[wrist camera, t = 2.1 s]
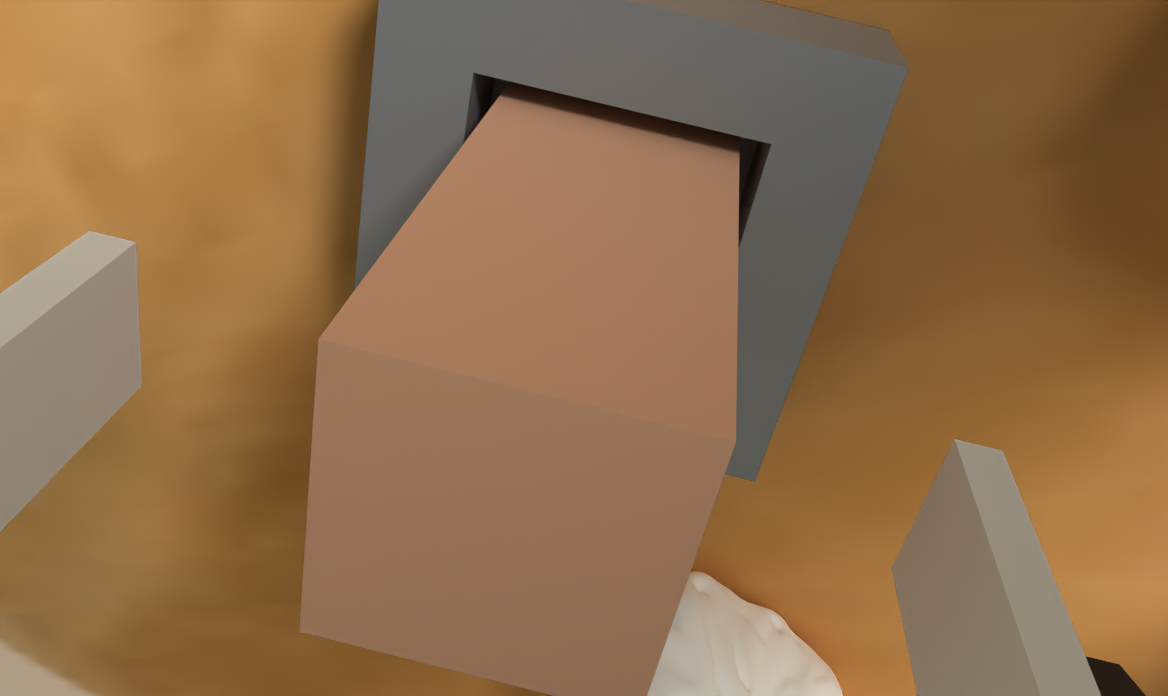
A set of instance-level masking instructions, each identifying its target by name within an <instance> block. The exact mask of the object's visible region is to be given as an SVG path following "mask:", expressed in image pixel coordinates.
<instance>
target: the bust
mask: <svg viewBox="0 0 1168 696" xmlns="http://www.w3.org/2000/svg"><path fill="white" fill-rule="evenodd" d="M647 696H843V694H842V690H841V688H840V685H839V683H838V681H837V679H836V677H835V675H834V673H833V672H832V670H831V668H830V667H829V666H828V665H827V664H826V663H825V662H824V661H823V660H822V659H821V658H820V657H819V656H818V655H817V653H816V652H815V651H814V650H813V649H812V648H811V647H810V646H808V645H807V644H806V643H805V642H804V641H803V640H801V639H800V638H799V637H798V636H797V635H796V634H794V633H793V632H792V631H791V630H790V628H789V627H788V625H787V624H786V622H785V620H784V619H783V618H782V617H781V616H780V615H779V614H777V613H776V612H775V611H773V610H771V609H768V608H765V607H762V606H759V605H756V604H753V603H749V602H747V601H745V600H743V599H741V598H739V597H738V596H737V595H736V594H734V593H733V592H732V591H731V590H730V589H728V588H727V587H725V586H724V585H722V584H720V583H719V582H718V581H716V580H715V579H714V578H712V577H711V576H709V575H708V574H706V573H703V572H699V571H691V572H690V575H689V578H688V580H687V583H686V586H685V589H684V592H683V595H682V598H681V600H680V603H679V606H678V609H677V612H676V615H675V618H674V620H673V623H672V626H671V629H670V632H669V635H668V638H667V640H666V643H665V646H664V649H663V652H662V655H661V658H660V660H659V663H658V666H657V669H656V672H655V675H654V678H653V680H652V683H651V686H650V689H649V692H648V695H647Z"/></svg>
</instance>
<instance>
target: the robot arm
mask: <svg viewBox="0 0 1168 696" xmlns="http://www.w3.org/2000/svg"><path fill="white" fill-rule="evenodd" d="M141 387H142V372H141V347H140V322H139V297H138V273H137V248H136V242H134V241H130V240H125V239H121V238H117V237H113V236H109V235H105V234H101V233H96V232H92V231H88V232H86V233H85V234H84V235H82V236H81V237H79V238H78V239H77V240H75V241H74V242H72V243H71V244H69V245H68V246H67V247H65V248H64V249H62V250H61V251H59V252H58V253H57V254H55V255H54V256H52V257H51V258H49V259H48V260H47V261H45V262H44V263H42V264H41V265H40V266H38V267H37V268H35V269H34V270H32V271H31V272H30V273H28V274H27V275H25V276H24V277H22V278H21V279H20V280H18V281H17V282H15V283H14V284H12V285H11V286H10V287H8V288H7V289H5V290H4V291H3V292H1V293H0V532H1V531H2V530H3V529H4V528H5V526H6V525H7V524H8V523H9V522H10V521H11V520H12V519H13V518H14V517H15V516H16V515H17V514H18V513H19V512H20V511H21V510H22V509H23V508H24V507H25V506H26V505H27V504H28V503H29V502H30V501H31V500H32V499H33V498H34V497H35V496H36V495H37V494H38V493H39V491H40V490H41V489H42V488H43V487H44V486H45V485H46V484H47V483H48V482H49V481H50V480H51V479H52V478H53V477H54V476H55V475H56V474H57V473H58V472H59V471H60V470H61V469H62V468H63V467H64V466H65V465H66V464H67V463H68V462H69V461H70V460H71V459H72V458H73V457H74V455H75V454H76V453H77V452H78V451H79V450H80V449H81V448H82V447H83V446H84V445H85V444H86V443H87V442H88V441H89V440H90V439H91V438H92V437H93V436H94V435H95V434H96V433H97V432H98V431H99V430H100V429H101V428H102V427H103V426H104V425H105V424H106V423H107V422H108V421H109V419H110V418H111V417H112V416H113V415H114V414H115V413H116V412H117V411H118V410H119V409H120V408H121V407H122V406H123V405H124V404H125V403H126V402H127V401H128V400H129V399H130V398H131V397H132V396H133V395H134V394H135V393H136V392H137V391H138V390H139V389H140V388H141ZM892 573H893V577H894V582H895V587H896V592H897V597H898V602H899V607H900V612H901V617H902V622H903V627H904V632H905V637H906V642H907V647H908V652H909V657H910V662H911V667H912V672H913V677H914V682H915V687H916V692H917V696H1145V694H1144V693H1143V692H1142V691H1141V690H1140V688H1139V687H1138V686H1137V685H1136V684H1135V682H1134V681H1133V680H1132V679H1131V678H1130V677H1129V675H1128V674H1127V673H1126V672H1125V671H1124V669H1123V668H1122V667H1121V666H1120V665H1119V664H1115V663H1111V662H1106V661H1102V660H1098V659H1094V658H1090V657H1086V656H1085V654H1084V652H1083V649H1082V647H1081V644H1080V642H1079V639H1078V637H1077V634H1076V632H1075V629H1074V627H1073V624H1072V622H1071V619H1070V617H1069V614H1068V612H1067V609H1066V607H1065V604H1064V602H1063V599H1062V597H1061V594H1060V592H1059V589H1058V587H1057V584H1056V582H1055V579H1054V577H1053V574H1052V572H1051V569H1050V567H1049V565H1048V562H1047V560H1046V557H1045V555H1044V552H1043V550H1042V547H1041V545H1040V542H1039V540H1038V537H1037V535H1036V532H1035V530H1034V527H1033V525H1032V522H1031V520H1030V517H1029V515H1028V512H1027V510H1026V507H1025V505H1024V502H1023V500H1022V497H1021V495H1020V492H1019V490H1018V487H1017V485H1016V482H1015V480H1014V477H1013V475H1012V472H1011V470H1010V467H1009V465H1008V463H1007V460H1006V458H1005V455H1004V453H1003V451H1002V450H998V449H994V448H990V447H985V446H981V445H977V444H973V443H969V442H965V441H961V440H956V439H954V441H953V443H952V445H951V447H950V449H949V451H948V453H947V455H946V457H945V459H944V462H943V464H942V466H941V468H940V470H939V472H938V474H937V476H936V478H935V480H934V482H933V484H932V486H931V488H930V490H929V492H928V494H927V496H926V498H925V500H924V502H923V504H922V506H921V508H920V511H919V513H918V515H917V517H916V519H915V521H914V523H913V525H912V527H911V529H910V531H909V533H908V535H907V537H906V539H905V541H904V543H903V545H902V547H901V549H900V551H899V553H898V555H897V557H896V559H895V562H894V564H893V566H892Z"/></svg>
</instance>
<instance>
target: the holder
mask: <svg viewBox="0 0 1168 696" xmlns="http://www.w3.org/2000/svg"><path fill="white" fill-rule="evenodd" d="M908 69H909V67H908V65H907V63H906V61H905V59H904V58H903V56H902V54H901V52H900V50H899V48H898V47H897V45H896V43H895V41H894V39H893V38H892V36H891V34H890V32H889V31H888V30H884V29H880V28H876V27H871V26H867V25H863V24H859V23H855V22H850V21H846V20H842V19H838V18H833V17H829V16H825V15H821V14H817V13H812V12H808V11H804V10H800V9H796V8H791V7H787V6H783V5H779V4H775V3H770V2H766V1H762V0H379V2H378V14H377V26H376V37H375V49H374V61H373V73H372V84H371V96H370V108H369V120H368V131H367V143H366V155H365V167H364V178H363V190H362V202H361V214H360V225H359V237H358V249H357V260H356V272H355V284H354V291H355V289H356V288H357V286H358V285H359V284H360V282H361V281H362V280H363V278H364V277H365V276H366V274H367V273H368V272H369V270H370V269H371V268H372V266H373V265H374V264H375V262H376V261H377V260H378V258H379V257H380V256H381V254H382V253H383V252H384V250H385V249H386V248H387V246H388V245H389V244H390V242H391V241H392V240H393V238H394V237H395V235H396V234H397V233H398V231H399V230H400V229H401V227H402V226H403V225H404V223H405V222H406V221H407V219H408V218H409V217H410V215H411V214H412V213H413V211H414V210H415V209H416V207H417V206H418V205H419V203H420V202H421V201H422V199H423V198H424V197H425V195H426V194H427V193H428V191H429V190H430V189H431V187H432V186H433V184H434V183H435V182H436V180H437V179H438V178H439V176H440V175H441V174H442V172H443V171H444V170H445V168H446V167H447V166H448V164H449V163H450V162H451V160H452V159H453V158H454V156H455V155H456V154H457V152H458V151H459V150H460V148H461V147H462V146H463V144H464V143H465V142H466V140H467V139H468V137H469V136H470V135H471V133H472V132H473V131H474V129H475V128H476V127H477V125H478V124H479V123H480V121H481V120H482V119H483V117H484V116H485V115H486V113H487V112H488V111H489V109H490V108H491V107H492V105H493V104H494V103H495V101H496V100H497V99H498V97H499V96H500V95H501V93H502V92H503V91H504V89H505V88H506V86H507V85H508V84H509V82H515V83H519V84H523V85H527V86H531V87H535V88H540V89H544V90H548V91H552V92H556V93H560V94H564V95H569V96H573V97H577V98H581V99H585V100H589V101H594V102H598V103H602V104H606V105H610V106H614V107H619V108H623V109H627V110H631V111H635V112H639V113H644V114H648V115H652V116H656V117H660V118H664V119H669V120H673V121H677V122H681V123H685V124H689V125H694V126H698V127H702V128H706V129H710V130H714V131H719V132H723V133H727V134H731V135H735V136H739V137H740V152H739V236H738V321H737V406H736V443H735V446H734V449H733V452H732V455H731V458H730V461H729V463H728V466H727V469H726V472H725V474H727V475H731V476H735V477H739V478H743V479H747V480H751V481H755V480H756V477H757V474H758V472H759V469H760V466H761V464H762V461H763V458H764V456H765V453H766V450H767V447H768V445H769V442H770V439H771V437H772V434H773V431H774V429H775V426H776V423H777V421H778V418H779V415H780V413H781V410H782V407H783V405H784V402H785V399H786V397H787V394H788V391H789V388H790V386H791V383H792V380H793V378H794V375H795V372H796V370H797V367H798V364H799V362H800V359H801V356H802V354H803V351H804V348H805V346H806V343H807V340H808V337H809V335H810V332H811V329H812V327H813V324H814V321H815V319H816V316H817V313H818V311H819V308H820V305H821V303H822V300H823V297H824V295H825V292H826V289H827V286H828V284H829V281H830V278H831V276H832V273H833V270H834V268H835V265H836V262H837V260H838V257H839V254H840V252H841V249H842V246H843V244H844V241H845V238H846V236H847V233H848V230H849V227H850V225H851V222H852V219H853V217H854V214H855V211H856V209H857V206H858V203H859V201H860V198H861V195H862V193H863V190H864V187H865V185H866V182H867V179H868V176H869V174H870V171H871V168H872V166H873V163H874V160H875V158H876V155H877V152H878V150H879V147H880V144H881V142H882V139H883V136H884V134H885V131H886V128H887V125H888V123H889V120H890V117H891V115H892V112H893V109H894V107H895V104H896V101H897V99H898V96H899V93H900V91H901V88H902V85H903V83H904V80H905V77H906V75H907V72H908Z"/></svg>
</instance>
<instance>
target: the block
mask: <svg viewBox="0 0 1168 696" xmlns="http://www.w3.org/2000/svg"><path fill="white" fill-rule="evenodd" d="M739 152H740V137H739V136H735V135H731V134H727V133H723V132H719V131H714V130H710V129H706V128H702V127H698V126H694V125H689V124H685V123H681V122H677V121H673V120H669V119H664V118H660V117H656V116H652V115H648V114H644V113H639V112H635V111H631V110H627V109H623V108H619V107H614V106H610V105H606V104H602V103H598V102H594V101H589V100H585V99H581V98H577V97H573V96H569V95H564V94H560V93H556V92H552V91H548V90H544V89H540V88H535V87H531V86H527V85H523V84H519V83H515V82H509V84H508V85H507V86H506V88H505V89H504V91H503V92H502V93H501V95H500V96H499V97H498V99H497V100H496V101H495V103H494V104H493V105H492V107H491V108H490V109H489V111H488V112H487V113H486V115H485V116H484V117H483V119H482V120H481V121H480V123H479V124H478V125H477V127H476V128H475V129H474V131H473V132H472V133H471V135H470V136H469V137H468V139H467V140H466V142H465V143H464V144H463V146H462V147H461V148H460V150H459V151H458V152H457V154H456V155H455V156H454V158H453V159H452V160H451V162H450V163H449V164H448V166H447V167H446V168H445V170H444V171H443V172H442V174H441V175H440V176H439V178H438V179H437V180H436V182H435V183H434V184H433V186H432V187H431V189H430V190H429V191H428V193H427V194H426V195H425V197H424V198H423V199H422V201H421V202H420V203H419V205H418V206H417V207H416V209H415V210H414V211H413V213H412V214H411V215H410V217H409V218H408V219H407V221H406V222H405V223H404V225H403V226H402V227H401V229H400V230H399V231H398V233H397V234H396V235H395V237H394V238H393V240H392V241H391V242H390V244H389V245H388V246H387V248H386V249H385V250H384V252H383V253H382V254H381V256H380V257H379V258H378V260H377V261H376V262H375V264H374V265H373V266H372V268H371V269H370V270H369V272H368V273H367V274H366V276H365V277H364V278H363V280H362V281H361V282H360V284H359V285H358V286H357V288H356V289H355V291H354V292H353V293H352V295H351V296H350V297H349V299H348V300H347V301H346V303H345V304H344V305H343V307H342V308H341V309H340V311H339V312H338V313H337V315H336V316H335V317H334V319H333V320H332V321H331V323H330V324H329V325H328V327H327V328H326V329H325V331H324V332H323V333H322V335H321V336H320V338H319V339H318V352H317V367H316V383H315V398H314V413H313V428H312V444H311V459H310V474H309V490H308V505H307V520H306V536H305V551H304V566H303V581H302V597H301V612H300V627H299V632H301V633H305V634H309V635H313V636H317V637H321V638H325V639H329V640H333V641H337V642H341V643H345V644H349V645H353V646H357V647H361V648H365V649H369V650H373V651H377V652H381V653H385V654H389V655H393V656H397V657H401V658H405V659H409V660H413V661H417V662H421V663H425V664H429V665H433V666H437V667H441V668H445V669H449V670H452V671H456V672H460V673H464V674H468V675H472V676H476V677H480V678H484V679H488V680H492V681H496V682H500V683H504V684H508V685H512V686H516V687H520V688H524V689H528V690H532V691H536V692H540V693H544V694H548V695H552V696H647V695H648V692H649V689H650V686H651V683H652V680H653V678H654V675H655V672H656V669H657V666H658V663H659V660H660V658H661V655H662V652H663V649H664V646H665V643H666V640H667V638H668V635H669V632H670V629H671V626H672V623H673V620H674V618H675V615H676V612H677V609H678V606H679V603H680V600H681V598H682V595H683V592H684V589H685V586H686V583H687V580H688V578H689V575H690V572H691V569H692V566H693V563H694V560H695V558H696V555H697V552H698V549H699V546H700V543H701V540H702V538H703V535H704V532H705V529H706V526H707V523H708V520H709V518H710V515H711V512H712V509H713V506H714V503H715V501H716V498H717V495H718V492H719V489H720V486H721V483H722V481H723V478H724V475H725V472H726V469H727V466H728V463H729V461H730V458H731V455H732V452H733V449H734V446H735V443H736V406H737V321H738V236H739Z"/></svg>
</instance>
